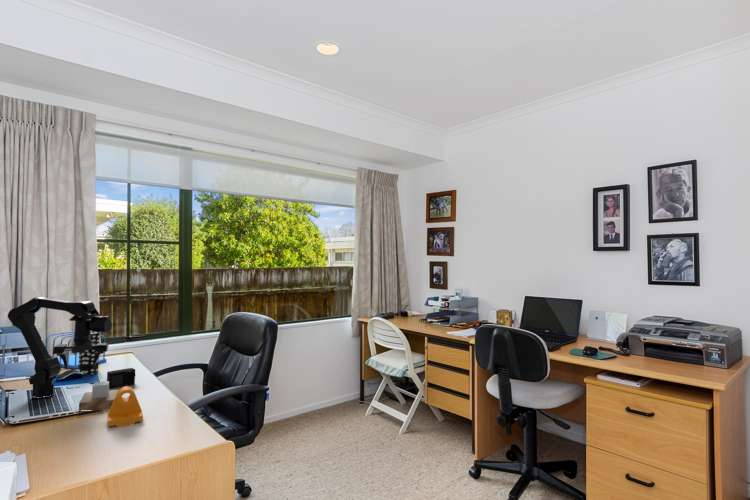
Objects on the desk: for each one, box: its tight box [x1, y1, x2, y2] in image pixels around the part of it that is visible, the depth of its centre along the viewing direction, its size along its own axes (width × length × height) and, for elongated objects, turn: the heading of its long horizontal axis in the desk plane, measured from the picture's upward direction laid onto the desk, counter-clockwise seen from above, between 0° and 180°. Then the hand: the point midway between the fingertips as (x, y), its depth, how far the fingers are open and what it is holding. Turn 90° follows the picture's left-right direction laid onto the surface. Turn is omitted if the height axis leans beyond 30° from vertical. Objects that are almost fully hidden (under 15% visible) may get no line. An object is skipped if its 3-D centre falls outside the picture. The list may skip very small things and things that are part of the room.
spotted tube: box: [77, 331, 101, 376], centre depth 211 cm, size 8×8×20 cm
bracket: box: [106, 385, 144, 428], centre depth 154 cm, size 11×7×12 cm, turn 124°
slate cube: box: [91, 380, 110, 399], centre depth 169 cm, size 5×5×5 cm
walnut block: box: [78, 388, 121, 412], centre depth 170 cm, size 13×13×4 cm
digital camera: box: [106, 367, 136, 390], centre depth 193 cm, size 10×5×7 cm, turn 138°
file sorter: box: [45, 331, 107, 370], centre depth 228 cm, size 25×17×15 cm
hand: (80, 368), depth 177 cm, fingers open, 9 cm apart
